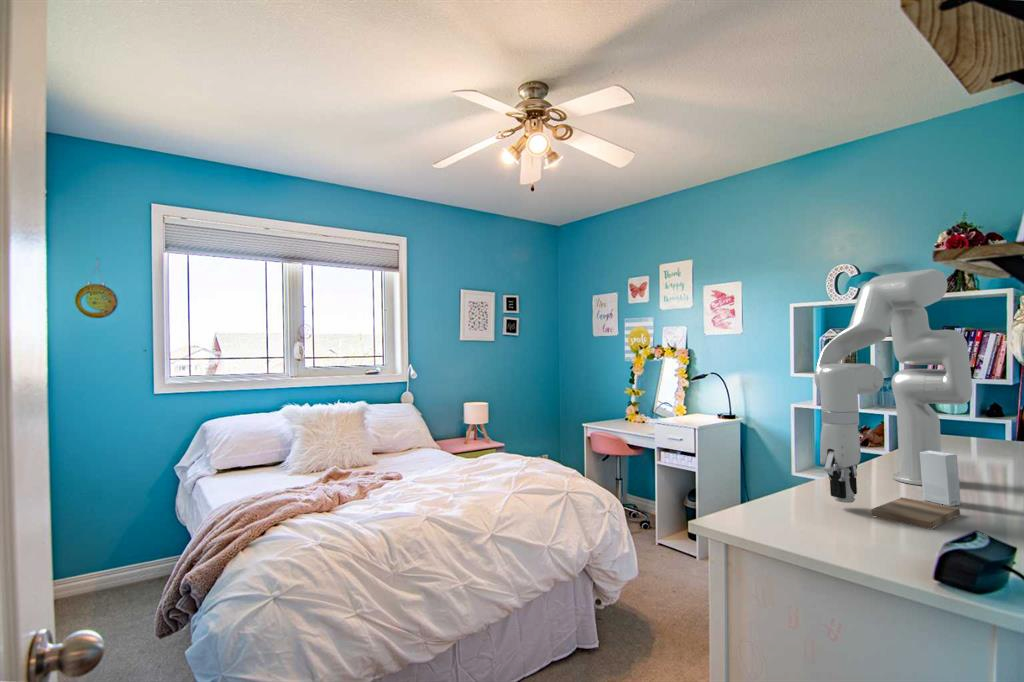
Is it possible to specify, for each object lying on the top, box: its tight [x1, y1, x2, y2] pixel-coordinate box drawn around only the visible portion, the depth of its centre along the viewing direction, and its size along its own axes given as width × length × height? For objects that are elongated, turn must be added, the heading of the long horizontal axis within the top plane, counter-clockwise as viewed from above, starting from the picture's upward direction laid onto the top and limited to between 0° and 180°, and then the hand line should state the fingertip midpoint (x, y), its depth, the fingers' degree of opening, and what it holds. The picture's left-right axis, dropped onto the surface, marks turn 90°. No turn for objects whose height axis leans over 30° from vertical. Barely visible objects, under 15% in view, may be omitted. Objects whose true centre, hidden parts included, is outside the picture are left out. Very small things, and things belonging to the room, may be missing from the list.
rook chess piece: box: [832, 465, 856, 504], centre depth 122 cm, size 4×4×8 cm
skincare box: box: [920, 451, 961, 507], centre depth 125 cm, size 6×4×12 cm
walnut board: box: [870, 496, 961, 530], centre depth 116 cm, size 16×11×2 cm
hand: (843, 494), depth 122 cm, fingers closed on rook chess piece, 4 cm apart
